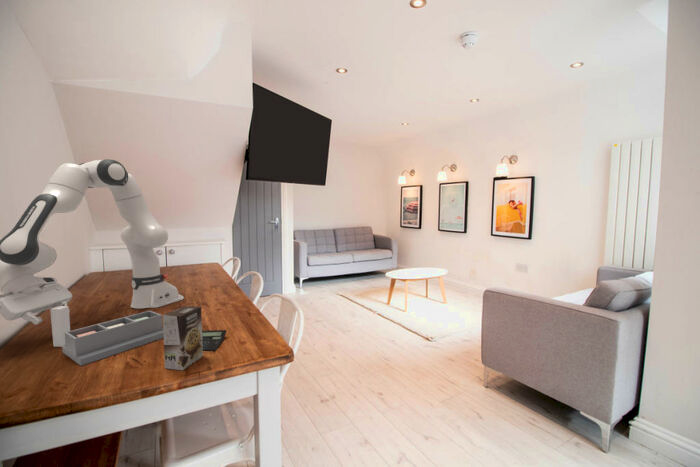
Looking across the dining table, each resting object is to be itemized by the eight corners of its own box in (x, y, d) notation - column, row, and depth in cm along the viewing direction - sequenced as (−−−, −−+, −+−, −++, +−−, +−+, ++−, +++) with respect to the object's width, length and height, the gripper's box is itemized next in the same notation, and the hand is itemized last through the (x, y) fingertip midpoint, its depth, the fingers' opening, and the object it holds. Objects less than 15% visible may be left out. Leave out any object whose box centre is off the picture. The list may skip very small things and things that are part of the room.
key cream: (122, 328, 110) (121, 323, 110) (128, 331, 108) (127, 325, 107) (106, 333, 106) (106, 327, 106) (112, 336, 104) (111, 330, 104)
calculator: (185, 353, 101) (185, 344, 101) (199, 338, 112) (199, 330, 112) (215, 352, 102) (214, 343, 101) (226, 337, 113) (226, 329, 113)
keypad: (146, 327, 122) (145, 308, 121) (167, 336, 113) (166, 316, 113) (62, 352, 101) (60, 330, 101) (80, 365, 92) (78, 341, 92)
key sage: (146, 321, 117) (146, 316, 117) (152, 324, 114) (152, 318, 114) (133, 325, 113) (132, 320, 113) (139, 328, 110) (138, 322, 110)
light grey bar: (62, 342, 109) (59, 306, 108) (71, 342, 109) (68, 306, 108) (53, 346, 106) (50, 309, 105) (62, 346, 106) (59, 309, 104)
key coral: (94, 336, 103) (93, 330, 103) (99, 339, 101) (99, 333, 101) (76, 341, 100) (76, 335, 99) (82, 345, 97) (81, 338, 97)
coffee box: (183, 370, 89) (180, 316, 88) (164, 368, 91) (161, 314, 89) (204, 356, 98) (202, 306, 97) (186, 354, 100) (184, 305, 98)
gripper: (-7, 291, 96) (26, 322, 96) (59, 276, 116) (86, 302, 116) (-19, 305, 96) (13, 336, 96) (48, 288, 117) (75, 314, 117)
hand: (53, 317), depth 106 cm, fingers open, 8 cm apart
